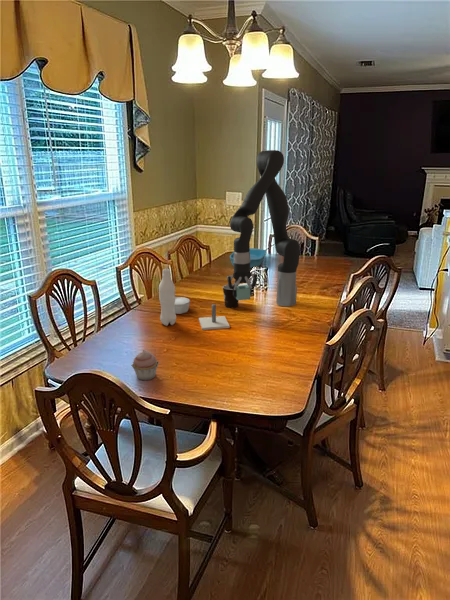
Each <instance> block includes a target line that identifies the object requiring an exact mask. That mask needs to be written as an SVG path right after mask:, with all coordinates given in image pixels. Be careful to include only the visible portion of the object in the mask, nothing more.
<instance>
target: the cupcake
mask: <svg viewBox="0 0 450 600" xmlns="http://www.w3.org/2000/svg"><path fill="white" fill-rule="evenodd" d="M159 364H160V362H159V361H158V359H156V356H155V355H154V354H153V353H152V352H150V351H148V350H146V349H145V350H144V349H143V350H142V352H140V353H138V354H137V355H136V356H135V358H134V359H133V361H132V364H131V368H133V371H134V372H135V375H136V377H137V379H138V380H139V381H150V380H152V379H154V378H155V377H156V375H157V368H158V366H159Z"/></svg>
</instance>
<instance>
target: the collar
mask: <svg viewBox="0 0 450 600" xmlns="http://www.w3.org/2000/svg"><path fill="white" fill-rule="evenodd" d="M236 292H237V297H236V299H237V300H239V301H245V300H246V301H247V300H251V296H250V288H249V287H248V285H247V284H241V285H240V284H239V286H237V288H236Z"/></svg>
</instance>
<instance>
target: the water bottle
mask: <svg viewBox="0 0 450 600" xmlns="http://www.w3.org/2000/svg"><path fill="white" fill-rule="evenodd" d="M161 275H162V279H161V281H160V283H159V285H158V291H159V292H158V295H159V296H158V297H159V298H158V299H159V304H160V310H161V311H160V316H159V319H160V320H159V321H160V322H161V324H162V325H163V326H166V327H167V326H168V325H169V324H170V325H171V326H173V325H174V324H175V323H176V320H177V314H175V309H174V304H175V300H176V299H175V297H176V286H175V283H174V281H173V280H172V278H171V271H170V269H169V268H164V269H162V274H161Z"/></svg>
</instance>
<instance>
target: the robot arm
mask: <svg viewBox="0 0 450 600" xmlns="http://www.w3.org/2000/svg"><path fill="white" fill-rule="evenodd" d="M284 162H285V157H284V154H283V153H282V151H280V150H277V149H275V150H274V149H271V150H270V149H269V150H262V151H261V150H260V151H259V152H258V154H257V156H256V166H257V169H258V172H259V173H258V174H259V176H260V178H259V179H258V180H257V181H256V182H255V183H254V184H253V186H251V187H250V189H249V190H248V191H247V192H246V193H247V194H246V195H245V197H244V199H243V201H242V203H241V205H240V207H238V209H237V210H236V211H235V212H234V214H233V215H232V217H231V218H230V222H229V226H230V230H232V231H233V232H236V233H240V234H239V237H236V238H234V240H233V252H234V266H233V274H231V275H227V276H226V278H227V280H226V281H227V285H228V286H229V288H230V289H233V296H234V297H235V298H236V297H237V292H236V288H237V286H238V285H239V286H240V284H246V285H248V287H249V288H250V297H251V295H252V294H253V288H255V287H257V280H258V274H257V273H256V272H254V273H251V268H250V260H251V259H250V248H251V247H250V246H251V244H250V242H251V239H252V235H253V231H254V222H253V220H252V219H251V218H250V217H249V216H252V215H255V214H256V213H257V211H258V210H259V207H260V204H261V202H262V200H263V199H264V196H265V197H266V203H267V208H268V213H269V216H270V221H271V226H272V227H271V228H272V232H273V240H274V248H275V252H276V253H277V254H278V255H279V256H281V257H283V261H282V262H281V263H279V264H278V265H277V277H276V278H277V279H276V280H277V281H276V303H275V304H277V306H281V307H293V306H296V305H297V295H298V294H297V293H298V292H297V291H298V286H297V268H298V267H299V263H300V254H301V246H300V243H299V242H298V240H297V239H294V238H290V237H289V235H288V230H287V223H288V219H289V214H290V207H289V203H288V199H287V195H286V193H285V192H284V190H283V189H282V188H281V186H280V185H279V183H278V182H277V180H276V177H277V176H278V175H279V173H280V171H281V170H282V168H283V166H284V164H285V163H284ZM251 277H252V283H251V282H250V278H251ZM233 279H234V282H233V283H232V281H233ZM232 284H234V285H233V286H232Z"/></svg>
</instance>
